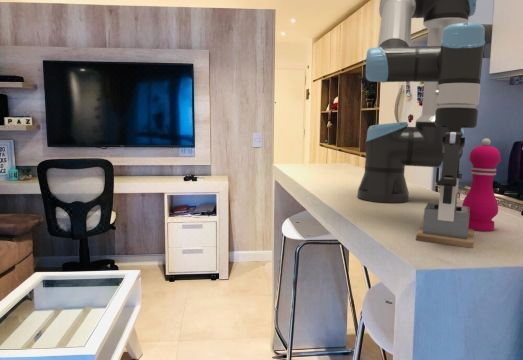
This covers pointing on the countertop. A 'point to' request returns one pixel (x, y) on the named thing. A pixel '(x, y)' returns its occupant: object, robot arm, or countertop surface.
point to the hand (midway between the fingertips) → (447, 214)
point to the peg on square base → (446, 240)
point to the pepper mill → (482, 187)
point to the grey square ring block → (446, 222)
